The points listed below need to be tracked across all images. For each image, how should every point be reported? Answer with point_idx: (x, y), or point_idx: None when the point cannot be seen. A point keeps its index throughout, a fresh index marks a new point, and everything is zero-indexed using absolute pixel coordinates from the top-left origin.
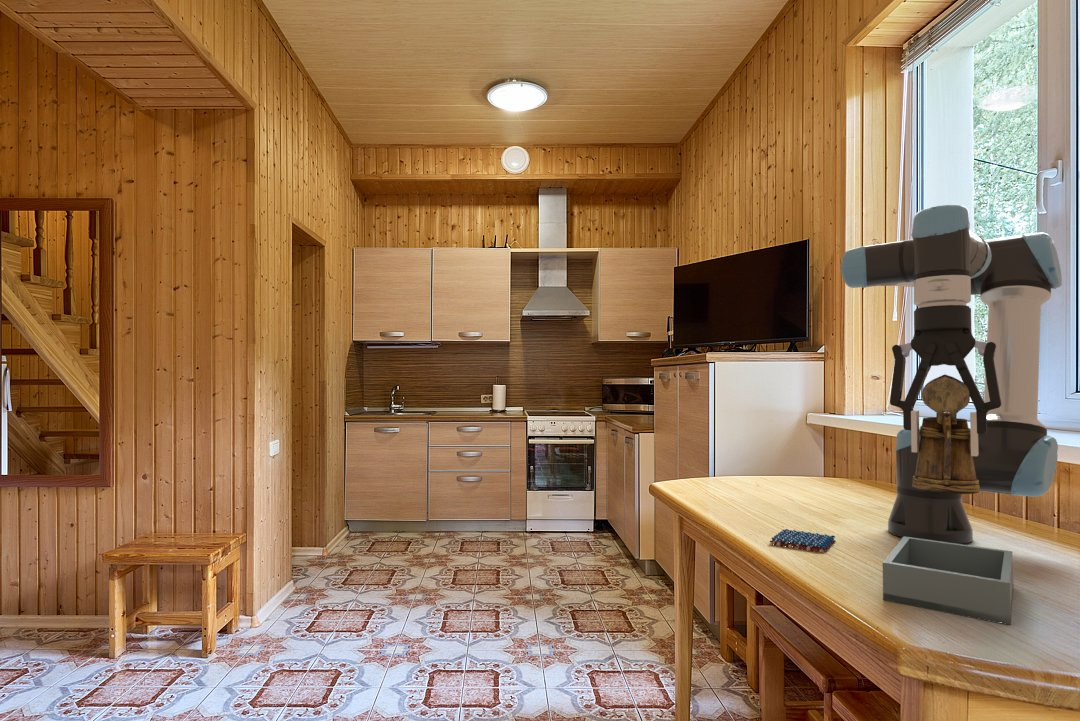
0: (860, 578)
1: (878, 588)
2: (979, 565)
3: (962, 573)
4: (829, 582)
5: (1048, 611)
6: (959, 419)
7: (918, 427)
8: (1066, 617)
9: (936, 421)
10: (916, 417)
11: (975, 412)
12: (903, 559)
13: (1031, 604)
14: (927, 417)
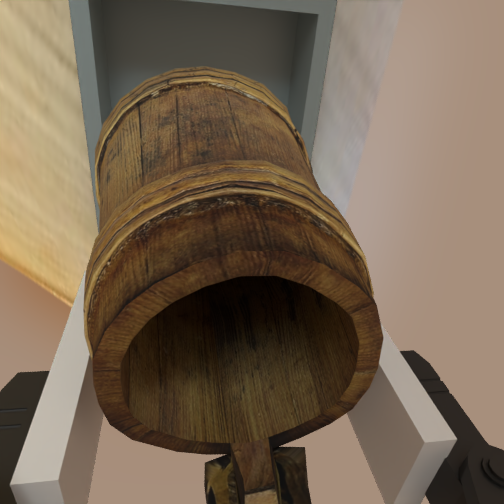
0: (36, 141)
1: (88, 187)
2: (256, 8)
3: (218, 6)
4: (3, 206)
5: (337, 144)
6: (345, 308)
7: (90, 385)
8: (354, 160)
9: (201, 449)
10: (86, 501)
11: (426, 483)
12: (105, 112)
13: (320, 119)
14: (109, 328)
